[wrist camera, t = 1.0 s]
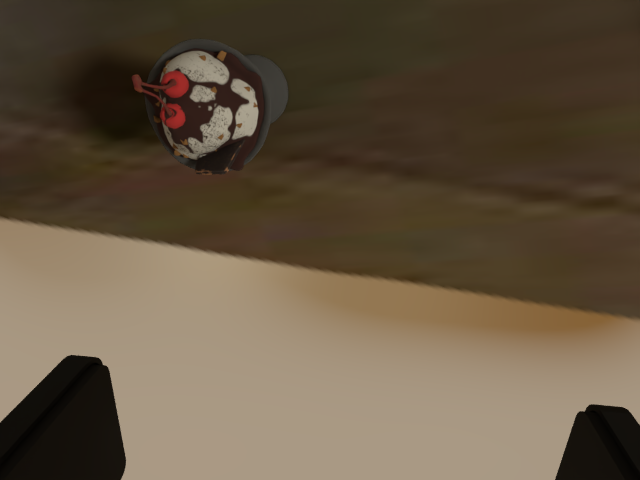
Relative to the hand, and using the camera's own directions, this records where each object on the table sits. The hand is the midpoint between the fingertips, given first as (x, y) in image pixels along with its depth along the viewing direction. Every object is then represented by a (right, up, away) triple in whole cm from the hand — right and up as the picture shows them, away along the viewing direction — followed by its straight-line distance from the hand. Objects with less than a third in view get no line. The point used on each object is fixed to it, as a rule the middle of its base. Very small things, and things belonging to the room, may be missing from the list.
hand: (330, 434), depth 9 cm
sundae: (-5, +15, +23) cm, 28 cm away
